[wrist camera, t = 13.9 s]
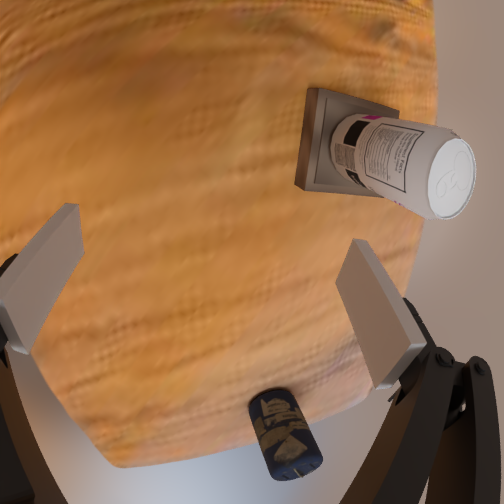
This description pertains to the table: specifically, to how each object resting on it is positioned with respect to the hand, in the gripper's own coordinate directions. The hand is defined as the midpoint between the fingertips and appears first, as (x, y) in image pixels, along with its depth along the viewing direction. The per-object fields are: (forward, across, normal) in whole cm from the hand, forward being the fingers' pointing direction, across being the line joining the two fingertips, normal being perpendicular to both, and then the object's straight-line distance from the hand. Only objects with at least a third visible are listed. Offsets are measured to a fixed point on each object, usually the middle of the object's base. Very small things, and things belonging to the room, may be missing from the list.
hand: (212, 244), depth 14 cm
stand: (+25, +15, +2) cm, 29 cm away
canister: (+18, +15, -46) cm, 52 cm away
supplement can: (+22, +15, +2) cm, 27 cm away
